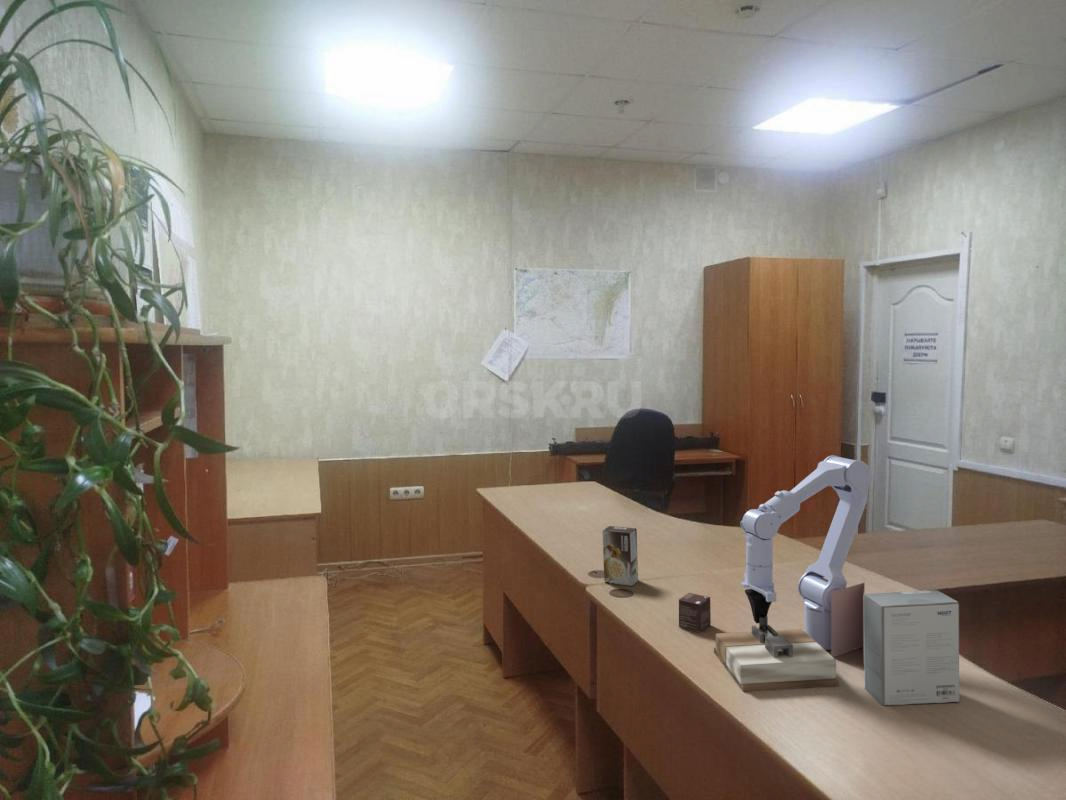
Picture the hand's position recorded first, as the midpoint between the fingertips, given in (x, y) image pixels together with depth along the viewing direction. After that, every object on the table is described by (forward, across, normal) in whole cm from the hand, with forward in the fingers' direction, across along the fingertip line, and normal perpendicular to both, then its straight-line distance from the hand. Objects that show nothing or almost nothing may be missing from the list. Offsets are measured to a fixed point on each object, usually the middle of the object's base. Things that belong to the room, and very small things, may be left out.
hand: (759, 622), depth 163 cm
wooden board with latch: (+7, +7, 0) cm, 10 cm away
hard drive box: (+8, +22, +22) cm, 32 cm away
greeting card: (+8, +4, +21) cm, 23 cm away
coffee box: (+8, -55, -22) cm, 59 cm away
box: (+8, -18, -10) cm, 22 cm away
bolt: (+2, +5, 0) cm, 5 cm away
